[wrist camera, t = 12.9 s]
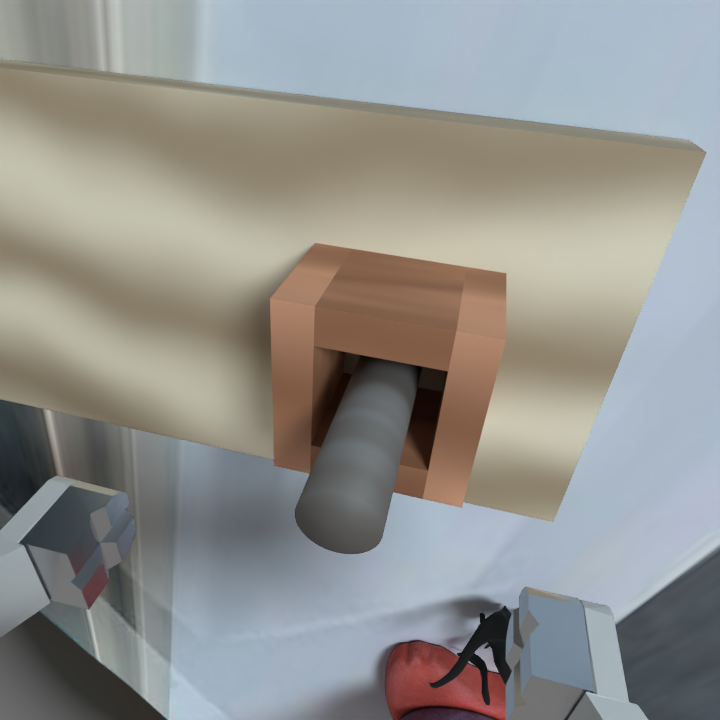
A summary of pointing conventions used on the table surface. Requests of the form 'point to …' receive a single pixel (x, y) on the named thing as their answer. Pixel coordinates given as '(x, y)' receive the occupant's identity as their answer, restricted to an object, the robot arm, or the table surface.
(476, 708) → the stacking bear
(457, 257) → the board
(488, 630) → the creature
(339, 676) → the table surface
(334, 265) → the bead
